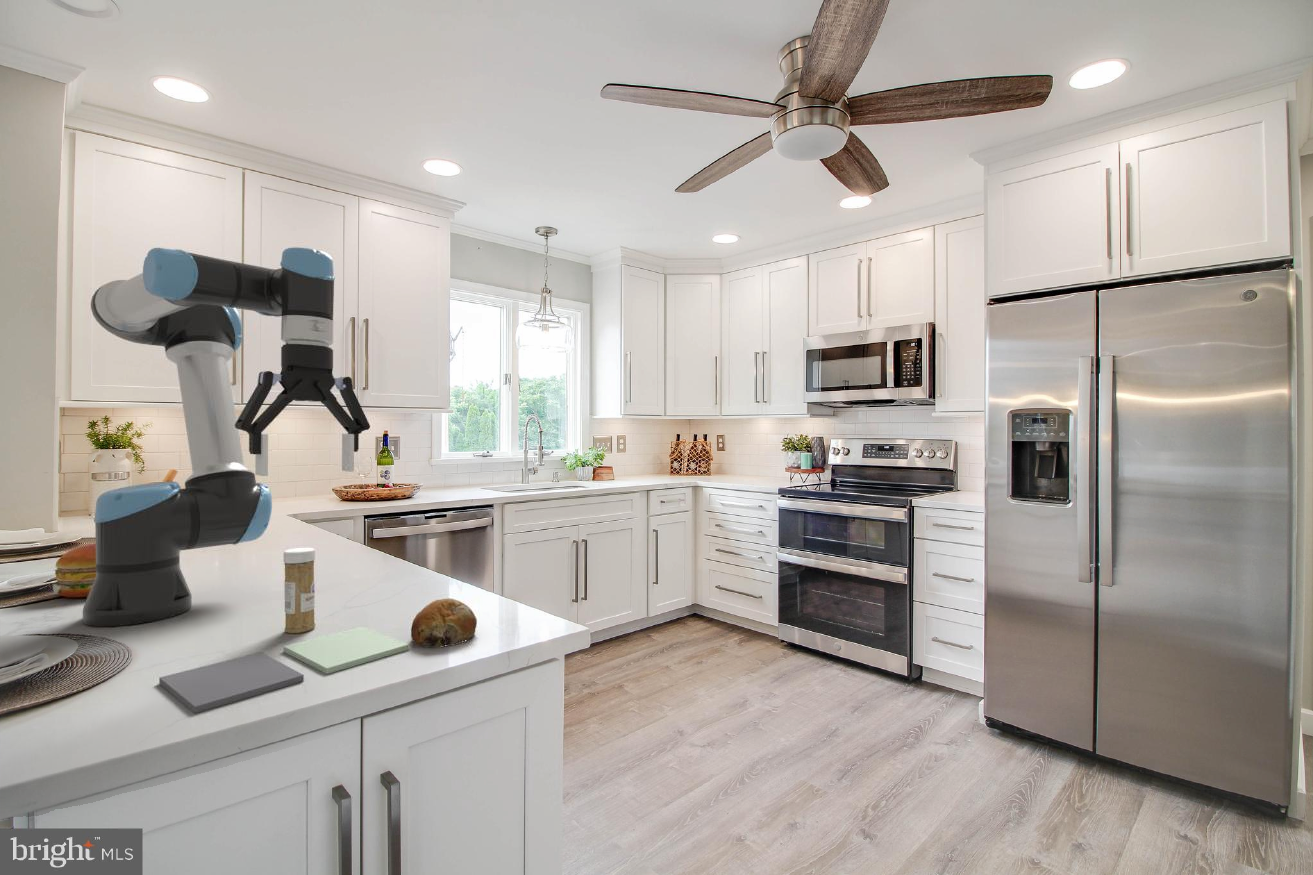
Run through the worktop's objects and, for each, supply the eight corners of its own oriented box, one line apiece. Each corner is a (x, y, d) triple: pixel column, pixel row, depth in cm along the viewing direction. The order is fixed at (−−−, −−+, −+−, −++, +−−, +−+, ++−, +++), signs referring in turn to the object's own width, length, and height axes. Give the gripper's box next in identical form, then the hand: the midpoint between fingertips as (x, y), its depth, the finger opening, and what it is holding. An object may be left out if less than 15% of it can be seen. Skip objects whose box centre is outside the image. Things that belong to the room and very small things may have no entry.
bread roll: (482, 657, 101) (494, 607, 105) (445, 649, 93) (459, 595, 96) (431, 650, 105) (445, 601, 108) (391, 641, 96) (407, 589, 99)
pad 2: (283, 651, 93) (283, 646, 93) (362, 631, 103) (362, 626, 103) (327, 673, 85) (326, 668, 85) (408, 649, 94) (408, 644, 94)
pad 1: (159, 683, 82) (159, 677, 82) (261, 657, 91) (261, 651, 91) (195, 713, 73) (195, 706, 73) (303, 680, 82) (303, 674, 82)
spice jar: (316, 631, 103) (316, 550, 103) (284, 636, 101) (284, 553, 100) (314, 623, 107) (313, 545, 107) (283, 628, 104) (282, 548, 104)
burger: (66, 605, 118) (66, 552, 118) (41, 595, 125) (40, 546, 125) (152, 589, 130) (151, 542, 130) (124, 581, 137) (124, 536, 137)
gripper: (229, 334, 91) (229, 479, 91) (391, 351, 111) (389, 470, 111) (210, 337, 95) (210, 475, 96) (369, 353, 115) (368, 468, 116)
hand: (306, 473), depth 103 cm, fingers open, 13 cm apart
